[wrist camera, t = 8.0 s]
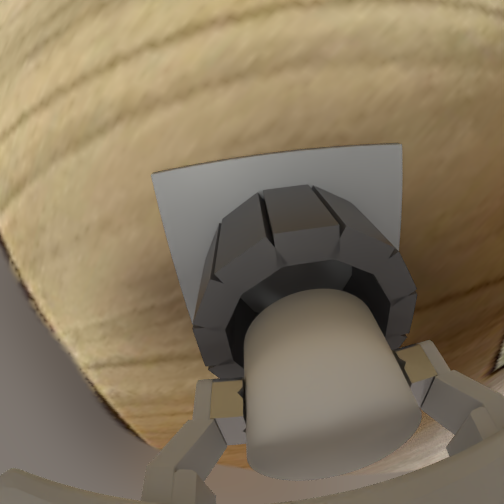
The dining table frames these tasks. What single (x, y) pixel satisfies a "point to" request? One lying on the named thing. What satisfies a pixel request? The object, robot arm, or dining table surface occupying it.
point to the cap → (322, 388)
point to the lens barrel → (285, 239)
